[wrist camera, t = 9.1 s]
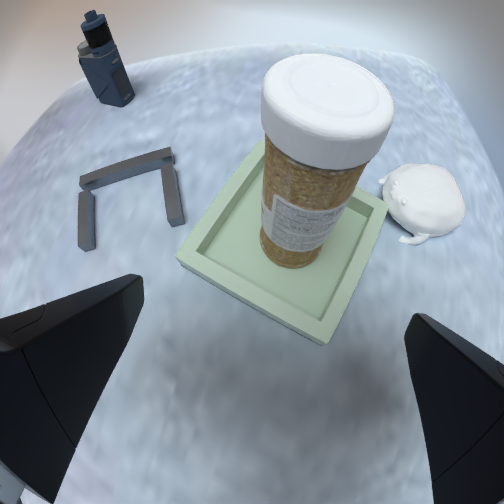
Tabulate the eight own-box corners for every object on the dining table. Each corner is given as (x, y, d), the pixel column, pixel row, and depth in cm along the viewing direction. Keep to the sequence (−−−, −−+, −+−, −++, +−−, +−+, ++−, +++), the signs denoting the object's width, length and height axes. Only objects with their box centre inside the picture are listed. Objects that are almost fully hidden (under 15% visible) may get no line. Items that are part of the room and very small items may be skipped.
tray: (380, 216, 22) (389, 204, 20) (320, 345, 19) (327, 344, 17) (259, 155, 24) (259, 139, 22) (181, 265, 21) (174, 256, 19)
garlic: (388, 251, 21) (409, 232, 18) (363, 177, 23) (378, 150, 20) (459, 239, 21) (483, 221, 18) (433, 174, 24) (452, 151, 20)
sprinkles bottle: (271, 202, 22) (285, 39, 9) (330, 223, 21) (400, 74, 9) (249, 257, 20) (238, 105, 8) (312, 280, 20) (395, 155, 7)
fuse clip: (184, 223, 22) (180, 216, 21) (85, 251, 21) (77, 246, 20) (173, 155, 24) (170, 146, 23) (85, 183, 23) (79, 176, 22)
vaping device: (124, 109, 26) (86, 18, 15) (95, 102, 27) (56, 23, 16) (139, 94, 27) (108, 4, 16) (109, 88, 28) (76, 9, 17)
